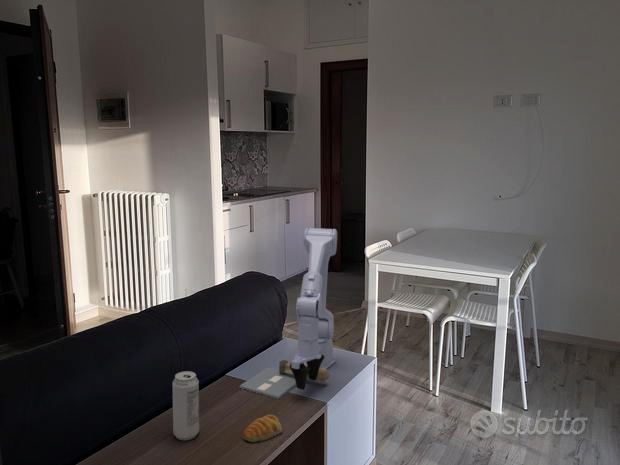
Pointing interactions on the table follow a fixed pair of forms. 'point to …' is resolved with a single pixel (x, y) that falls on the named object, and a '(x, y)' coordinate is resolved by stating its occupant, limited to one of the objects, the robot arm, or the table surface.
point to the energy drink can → (185, 405)
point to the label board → (270, 383)
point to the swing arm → (322, 373)
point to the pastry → (262, 429)
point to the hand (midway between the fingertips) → (306, 383)
